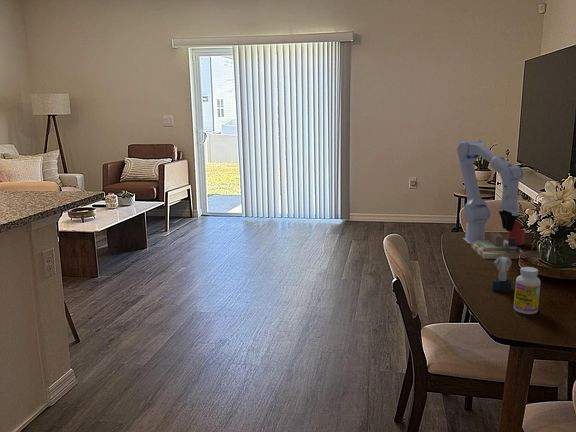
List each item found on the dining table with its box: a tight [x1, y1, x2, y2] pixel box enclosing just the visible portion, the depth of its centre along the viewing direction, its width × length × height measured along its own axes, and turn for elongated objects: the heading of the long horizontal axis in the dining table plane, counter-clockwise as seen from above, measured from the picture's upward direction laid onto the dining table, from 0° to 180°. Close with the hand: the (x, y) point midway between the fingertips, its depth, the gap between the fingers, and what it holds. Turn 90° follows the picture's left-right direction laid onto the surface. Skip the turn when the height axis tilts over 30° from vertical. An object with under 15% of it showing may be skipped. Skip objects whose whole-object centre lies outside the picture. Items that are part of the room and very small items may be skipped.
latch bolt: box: [505, 238, 517, 249], centre depth 215 cm, size 5×2×4 cm, turn 177°
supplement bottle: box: [513, 266, 542, 315], centre depth 159 cm, size 7×7×13 cm
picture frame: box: [470, 239, 525, 260], centre depth 220 cm, size 18×16×4 cm
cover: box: [477, 231, 508, 249], centre depth 221 cm, size 12×12×5 cm
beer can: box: [506, 222, 526, 246], centre depth 231 cm, size 7×7×12 cm
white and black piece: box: [491, 257, 512, 294], centre depth 177 cm, size 6×8×11 cm
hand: (507, 229), depth 218 cm, fingers open, 3 cm apart
